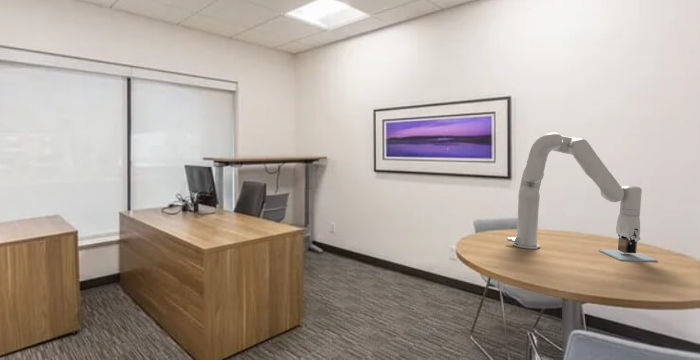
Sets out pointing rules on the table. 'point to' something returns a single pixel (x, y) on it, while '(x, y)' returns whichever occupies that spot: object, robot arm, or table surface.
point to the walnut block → (624, 245)
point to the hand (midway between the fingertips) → (626, 250)
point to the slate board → (628, 256)
